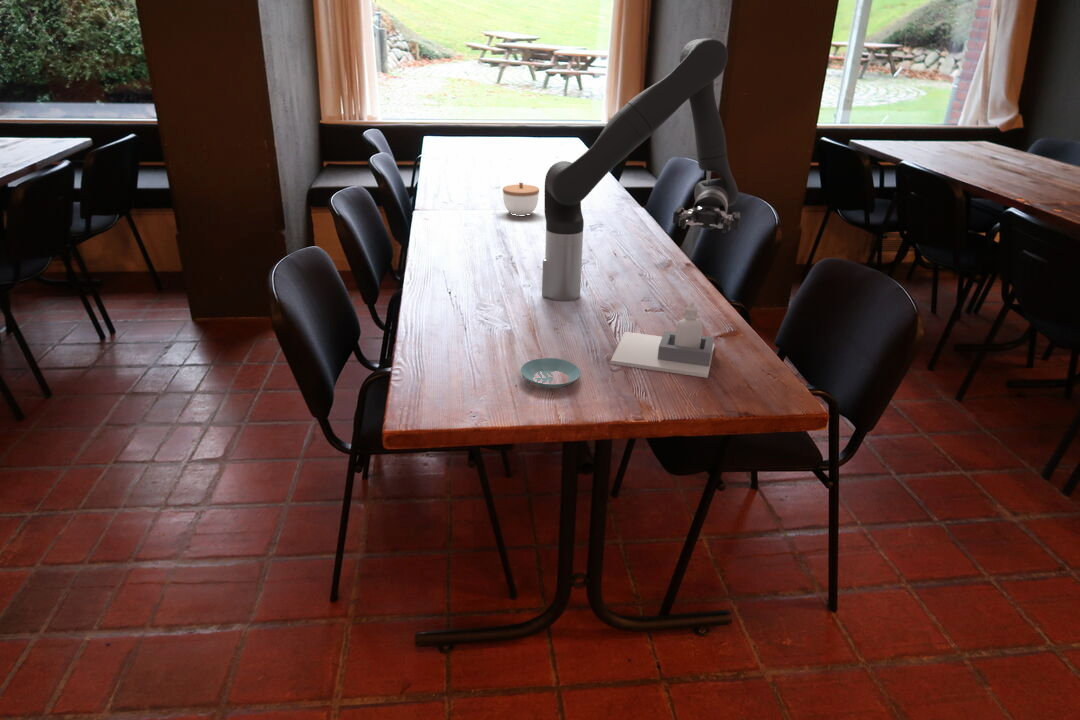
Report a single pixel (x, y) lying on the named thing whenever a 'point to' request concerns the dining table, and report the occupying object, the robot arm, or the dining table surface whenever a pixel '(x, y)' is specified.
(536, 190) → the lidded bowl
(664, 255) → the dining table surface
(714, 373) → the dining table surface
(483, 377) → the dining table surface
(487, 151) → the dining table surface
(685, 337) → the eye dropper bottle
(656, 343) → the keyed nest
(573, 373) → the saucer
